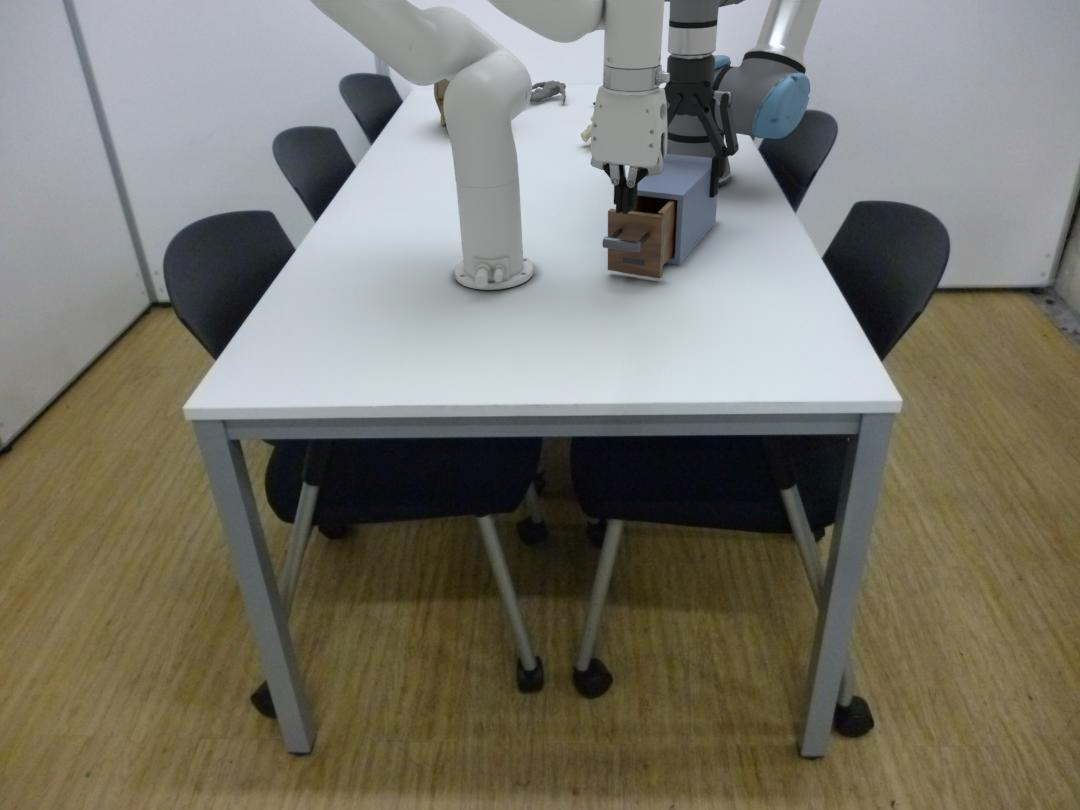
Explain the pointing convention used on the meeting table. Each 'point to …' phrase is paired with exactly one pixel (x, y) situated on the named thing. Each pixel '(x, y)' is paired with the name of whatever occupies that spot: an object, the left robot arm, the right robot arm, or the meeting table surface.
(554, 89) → the figurine
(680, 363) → the meeting table surface
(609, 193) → the meeting table surface
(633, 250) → the drawer
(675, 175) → the cabinet
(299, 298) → the meeting table surface
